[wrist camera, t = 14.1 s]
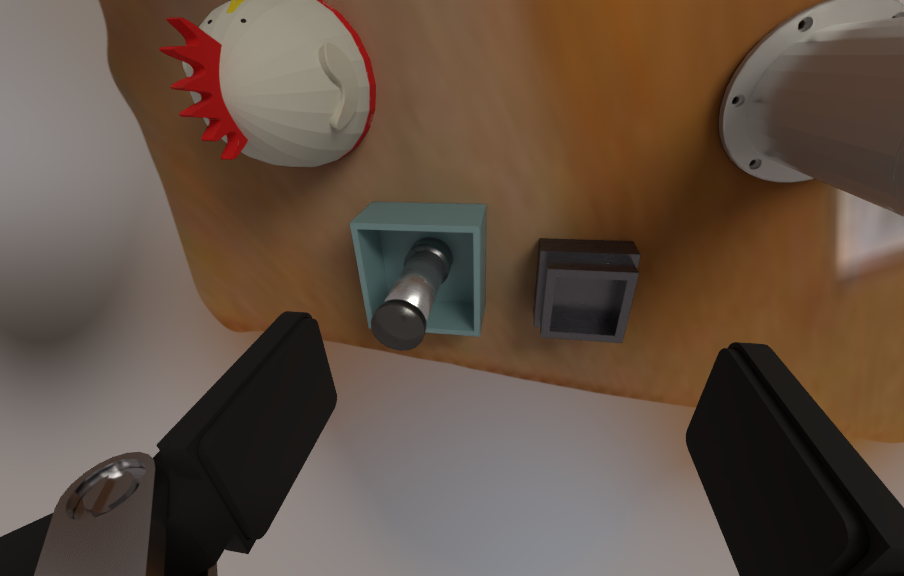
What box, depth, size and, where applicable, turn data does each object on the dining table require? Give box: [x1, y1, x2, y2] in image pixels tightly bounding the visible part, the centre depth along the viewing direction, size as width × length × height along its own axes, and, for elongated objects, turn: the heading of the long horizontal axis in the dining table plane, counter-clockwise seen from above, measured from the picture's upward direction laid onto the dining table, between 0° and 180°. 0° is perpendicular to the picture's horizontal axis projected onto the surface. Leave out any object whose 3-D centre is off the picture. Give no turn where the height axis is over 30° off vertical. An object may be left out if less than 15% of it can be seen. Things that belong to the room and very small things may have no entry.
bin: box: [350, 202, 486, 336], centre depth 40 cm, size 12×12×6 cm
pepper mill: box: [371, 237, 453, 350], centre depth 36 cm, size 5×5×13 cm
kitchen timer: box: [160, 0, 376, 167], centre depth 29 cm, size 14×14×15 cm
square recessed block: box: [533, 238, 641, 343], centre depth 39 cm, size 9×9×6 cm
